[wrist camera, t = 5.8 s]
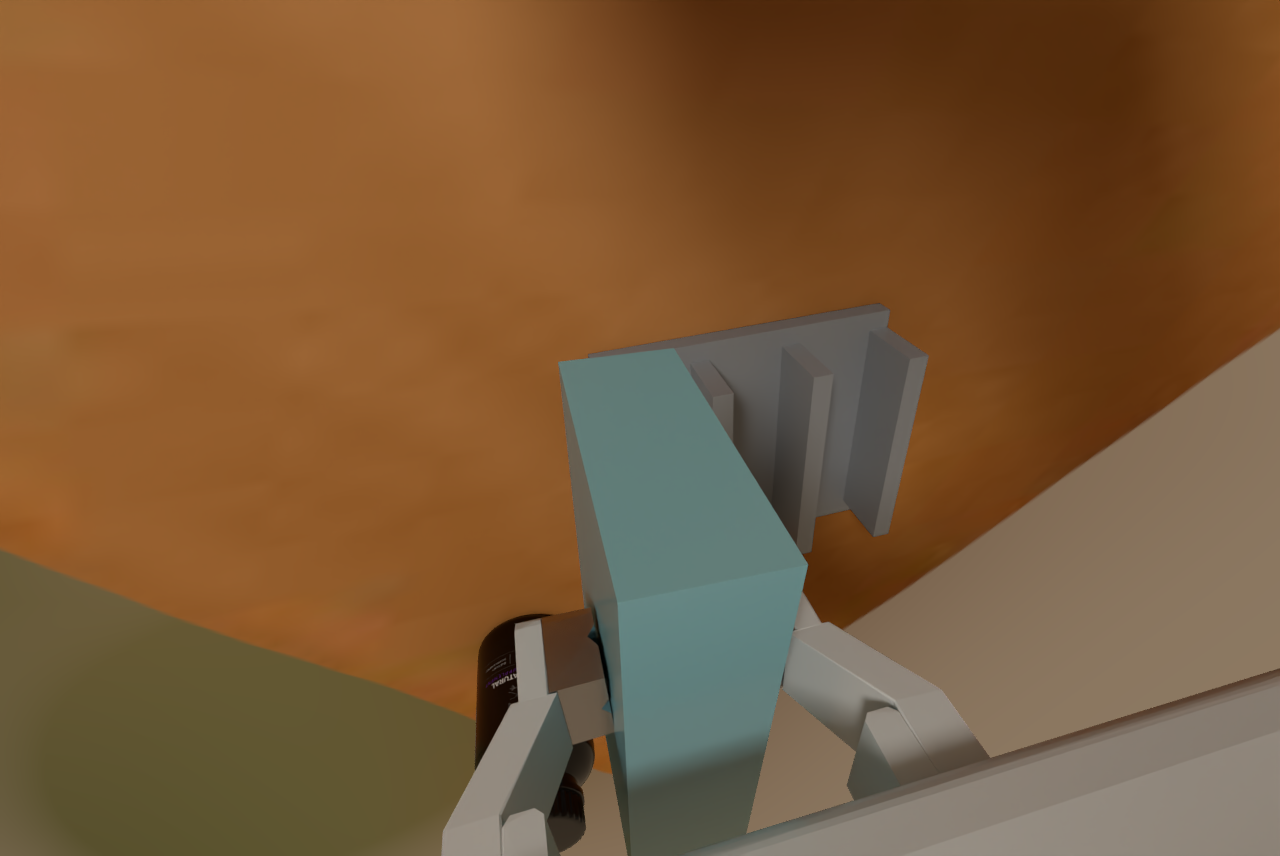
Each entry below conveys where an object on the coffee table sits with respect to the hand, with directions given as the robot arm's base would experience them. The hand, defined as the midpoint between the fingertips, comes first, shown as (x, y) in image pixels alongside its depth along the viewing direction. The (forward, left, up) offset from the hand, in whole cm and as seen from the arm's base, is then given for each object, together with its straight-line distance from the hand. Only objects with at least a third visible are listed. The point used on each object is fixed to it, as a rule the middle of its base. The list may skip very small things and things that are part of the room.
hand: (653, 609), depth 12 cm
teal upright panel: (0, 0, -3) cm, 3 cm away
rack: (+10, +9, -18) cm, 23 cm away
